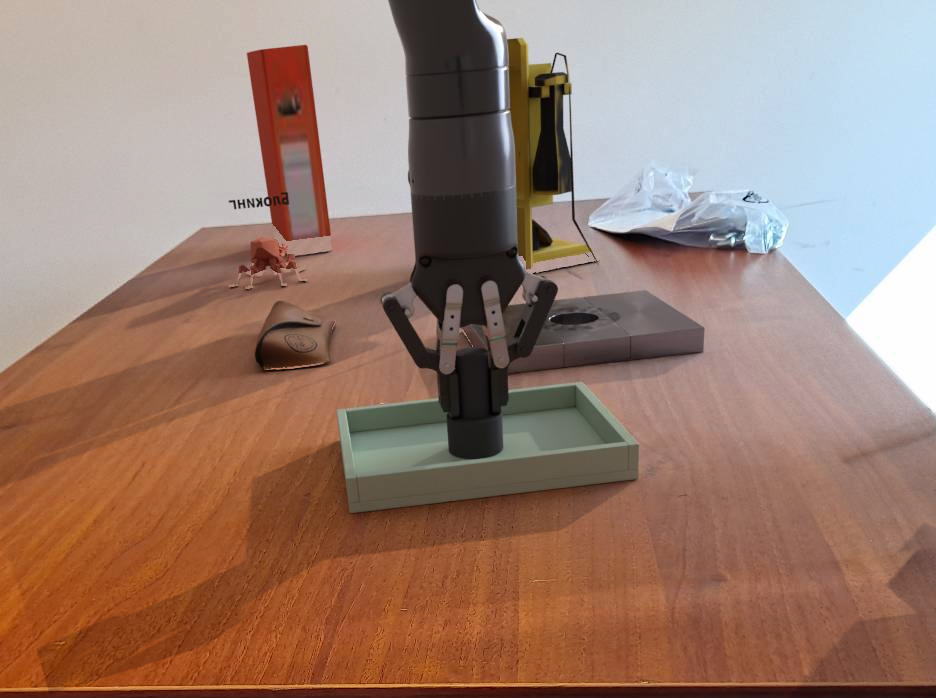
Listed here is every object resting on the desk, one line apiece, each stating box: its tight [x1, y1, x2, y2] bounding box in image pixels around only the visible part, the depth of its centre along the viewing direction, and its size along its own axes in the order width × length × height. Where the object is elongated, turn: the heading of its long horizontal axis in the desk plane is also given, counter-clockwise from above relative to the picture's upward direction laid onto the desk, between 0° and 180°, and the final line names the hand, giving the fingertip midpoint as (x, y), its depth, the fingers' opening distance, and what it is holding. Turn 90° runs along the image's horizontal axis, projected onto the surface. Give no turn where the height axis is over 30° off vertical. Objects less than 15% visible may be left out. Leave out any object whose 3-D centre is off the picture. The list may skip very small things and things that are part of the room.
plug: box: [446, 346, 503, 459], centre depth 76 cm, size 4×4×8 cm
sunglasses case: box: [254, 300, 336, 370], centre depth 113 cm, size 18×7×7 cm
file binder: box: [246, 44, 332, 241], centre depth 167 cm, size 8×17×32 cm, turn 14°
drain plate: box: [461, 289, 706, 375], centre depth 106 cm, size 22×18×2 cm
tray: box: [336, 381, 640, 514], centre depth 78 cm, size 22×16×3 cm
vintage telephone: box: [507, 37, 600, 270], centre depth 138 cm, size 31×14×30 cm, turn 26°
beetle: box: [228, 192, 297, 275], centre depth 148 cm, size 15×12×13 cm
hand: (474, 412), depth 77 cm, fingers closed on plug, 2 cm apart
